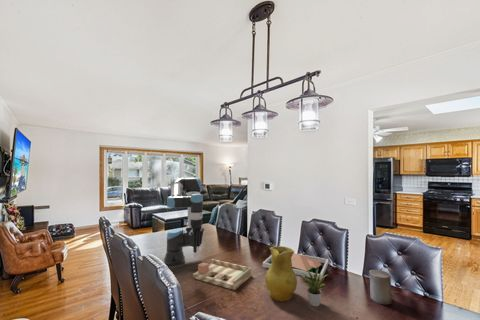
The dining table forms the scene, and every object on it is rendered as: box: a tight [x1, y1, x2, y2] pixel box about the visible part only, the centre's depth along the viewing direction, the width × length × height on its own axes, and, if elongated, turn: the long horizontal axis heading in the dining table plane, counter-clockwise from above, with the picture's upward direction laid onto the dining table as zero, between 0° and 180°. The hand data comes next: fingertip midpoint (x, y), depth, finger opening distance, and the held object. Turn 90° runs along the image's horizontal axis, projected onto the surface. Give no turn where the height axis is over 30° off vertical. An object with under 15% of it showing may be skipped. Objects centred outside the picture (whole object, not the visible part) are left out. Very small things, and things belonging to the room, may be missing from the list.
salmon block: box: [197, 261, 210, 274], centre depth 150 cm, size 5×5×5 cm
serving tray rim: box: [262, 252, 329, 281], centre depth 167 cm, size 40×30×3 cm
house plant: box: [301, 268, 328, 307], centre depth 120 cm, size 14×14×16 cm
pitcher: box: [265, 245, 298, 302], centre depth 128 cm, size 17×19×25 cm
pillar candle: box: [369, 269, 393, 305], centre depth 123 cm, size 10×10×15 cm
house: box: [291, 252, 323, 273], centre depth 167 cm, size 23×33×8 cm
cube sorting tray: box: [192, 258, 252, 291], centre depth 148 cm, size 31×21×5 cm
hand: (196, 257), depth 143 cm, fingers closed
